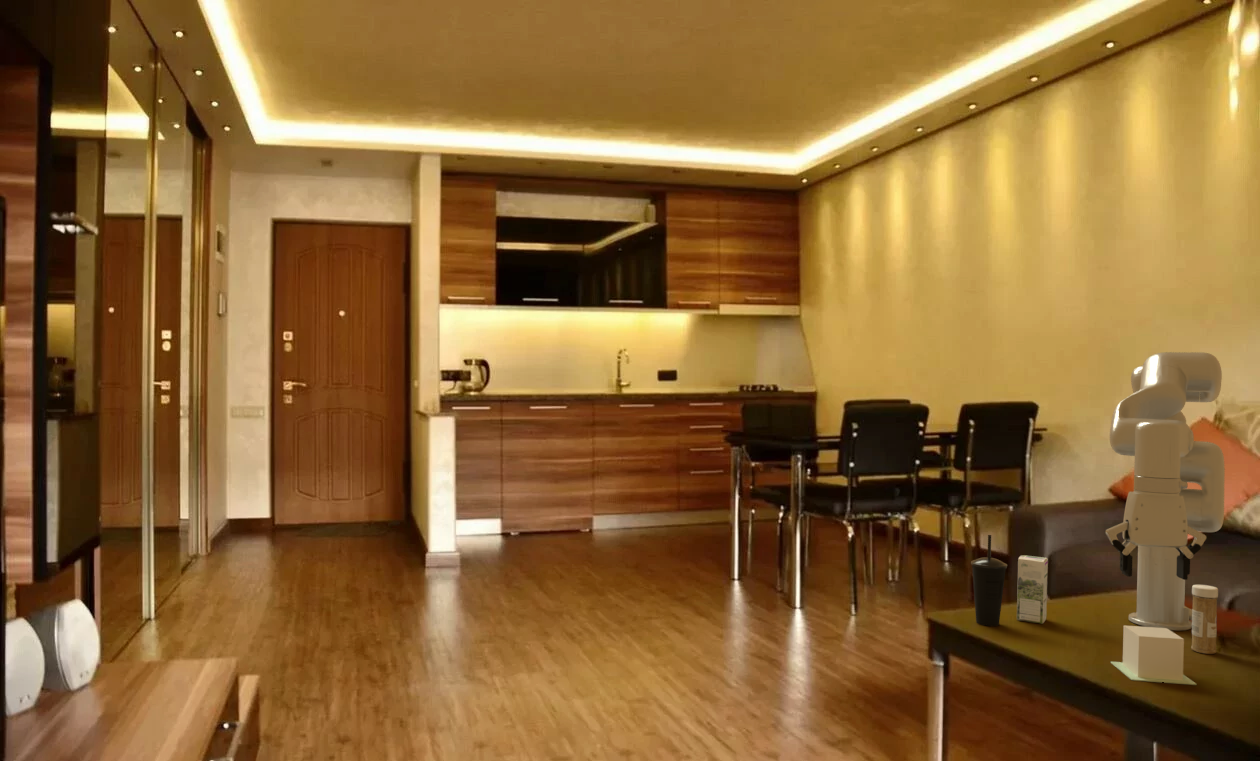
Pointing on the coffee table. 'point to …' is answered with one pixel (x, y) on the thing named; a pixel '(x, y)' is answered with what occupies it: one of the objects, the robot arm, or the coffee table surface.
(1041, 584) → the syrup box
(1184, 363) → the robot arm
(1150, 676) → the cream matte cube
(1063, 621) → the coffee table surface
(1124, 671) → the mark
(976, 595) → the drinking cup
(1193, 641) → the sprinkles bottle
